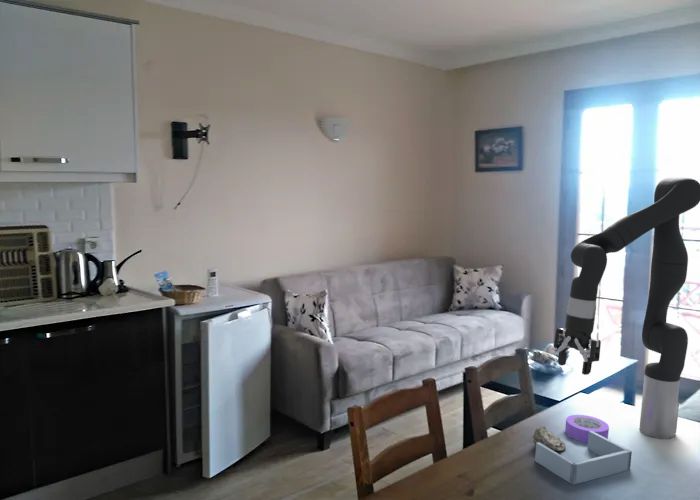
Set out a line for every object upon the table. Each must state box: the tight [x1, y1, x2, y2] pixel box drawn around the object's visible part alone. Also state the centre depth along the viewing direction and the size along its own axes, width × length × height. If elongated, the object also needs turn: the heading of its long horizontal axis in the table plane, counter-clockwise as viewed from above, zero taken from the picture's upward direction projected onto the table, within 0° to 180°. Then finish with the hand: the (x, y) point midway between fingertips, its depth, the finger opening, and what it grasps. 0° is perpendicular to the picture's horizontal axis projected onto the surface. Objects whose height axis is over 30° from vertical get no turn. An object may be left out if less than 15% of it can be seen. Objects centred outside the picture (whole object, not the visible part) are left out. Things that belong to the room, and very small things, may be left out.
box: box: [534, 431, 633, 486], centre depth 153 cm, size 20×13×5 cm, turn 115°
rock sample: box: [531, 425, 567, 452], centre depth 163 cm, size 10×8×9 cm
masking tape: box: [564, 414, 610, 444], centre depth 172 cm, size 12×12×4 cm
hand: (573, 369), depth 168 cm, fingers open, 8 cm apart
